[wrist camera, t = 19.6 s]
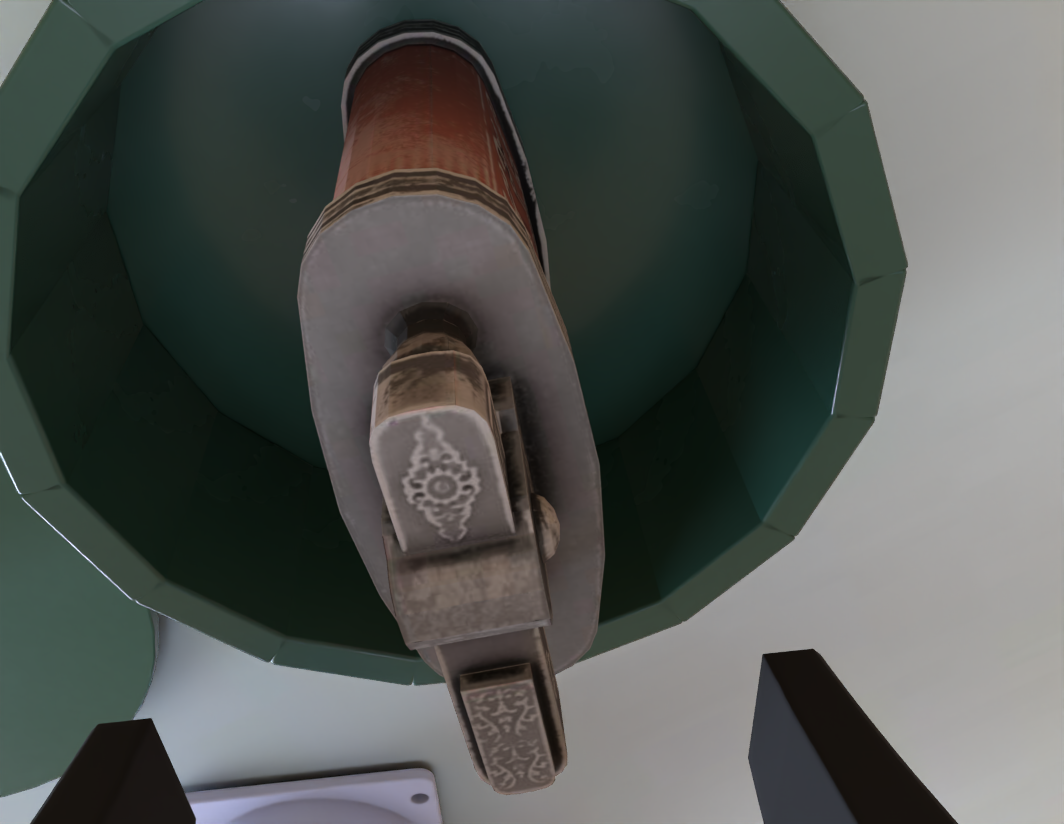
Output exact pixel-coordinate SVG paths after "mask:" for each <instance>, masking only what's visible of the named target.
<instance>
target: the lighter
mask: <svg viewBox="0 0 1064 824" xmlns="http://www.w3.org/2000/svg"><path fill="white" fill-rule="evenodd" d="M341 109H342V121H343V133H344V148H343V153H342V158H341V163H340V168H339V173H338V178H337V183H336V188H335V193H334V198H333V201H332V202H330V203H329V204H328V205H327V206H326V207H325V208H324V210H323V211H322V213H321V215H320V216H319V218H318V220H317V221H316V223H315V225H314V226H313V228H312V230H311V231H310V233H309V235H308V237H307V242H306V246H305V250H304V254H303V259H302V263H301V269H300V277H299V286H298V294H297V299H298V307H299V315H300V322H301V330H302V338H303V346H304V354H305V362H306V370H307V378H308V386H309V394H310V402H311V409H312V414H313V418H314V421H315V425H316V428H317V432H318V436H319V439H320V443H321V447H322V450H323V454H324V457H325V461H326V465H327V468H328V472H329V475H330V479H331V483H332V486H333V490H334V493H335V497H336V501H337V504H338V508H339V511H340V514H341V516H342V518H343V520H344V522H345V524H346V526H347V528H348V531H349V533H350V535H351V537H352V539H353V541H354V543H355V545H356V547H357V549H358V551H359V554H360V556H361V558H362V560H363V562H364V564H365V566H366V568H367V570H368V572H369V574H370V576H371V579H372V581H373V583H374V585H375V587H376V589H377V591H378V593H379V595H380V597H381V598H382V600H383V601H384V603H385V604H386V606H387V607H388V609H389V610H390V612H391V613H392V615H393V616H394V618H395V619H396V620H397V622H398V625H399V628H400V631H401V633H402V636H403V639H404V642H405V644H406V646H407V647H408V648H409V649H410V650H414V649H416V650H417V651H418V653H419V654H420V656H421V657H422V659H423V660H424V662H425V663H426V664H428V665H429V666H430V667H431V668H432V669H433V670H434V671H435V672H437V673H438V674H439V675H440V676H442V677H444V678H445V681H446V684H447V687H448V690H449V693H450V696H451V699H452V702H453V705H454V708H455V711H456V714H457V717H458V720H459V723H460V726H461V729H462V732H463V735H464V738H465V741H466V744H467V747H468V750H469V753H470V756H471V759H472V762H473V765H474V768H475V770H476V772H477V774H478V775H479V777H480V779H481V780H483V781H484V782H486V783H488V784H489V785H491V786H492V787H493V789H494V791H496V792H497V793H499V794H504V795H510V794H520V793H526V792H532V791H536V790H540V789H544V788H547V787H549V786H550V785H552V784H553V783H554V781H555V776H557V775H558V774H560V773H562V771H563V770H564V768H565V767H566V765H567V749H566V741H565V734H564V727H563V720H562V712H561V705H560V698H559V691H558V687H557V682H556V678H555V675H556V674H558V673H560V672H561V671H563V670H565V669H567V668H569V667H571V666H573V665H574V664H575V663H576V662H577V661H578V660H579V659H580V658H581V657H582V656H583V655H584V654H585V653H586V652H587V651H588V650H589V649H590V648H591V645H592V643H593V640H594V638H595V635H596V633H597V628H598V619H599V609H600V599H601V590H602V580H603V570H604V561H605V546H604V529H603V512H602V496H601V479H600V464H599V460H598V456H597V452H596V447H595V443H594V439H593V435H592V430H591V426H590V422H589V418H588V414H587V410H586V406H585V402H584V398H583V394H582V390H581V386H580V382H579V378H578V374H577V370H576V366H575V362H574V358H573V354H572V350H571V346H570V342H569V338H568V333H567V330H566V327H565V325H564V322H563V320H562V318H561V315H560V313H559V310H558V308H557V305H556V303H555V300H554V298H553V295H552V293H551V287H550V275H549V263H548V252H547V241H546V237H545V232H544V228H543V224H542V220H541V216H540V212H539V208H538V204H537V200H536V195H535V191H534V187H533V183H532V179H531V175H530V171H529V167H528V163H527V159H526V155H525V151H524V147H523V143H522V140H521V137H520V135H519V132H518V129H517V127H516V124H515V122H514V119H513V116H512V114H511V111H510V108H509V106H508V103H507V101H506V98H505V95H504V93H503V90H502V87H501V85H500V82H499V80H498V77H497V74H496V72H495V69H494V66H493V64H492V61H491V60H490V58H489V57H488V55H487V53H486V52H485V50H484V49H483V47H482V46H481V44H480V43H479V41H477V40H476V39H475V38H473V37H472V36H470V35H469V34H468V33H466V32H465V31H464V30H462V29H461V28H460V27H458V26H454V25H451V24H448V23H444V22H441V21H438V20H434V19H417V20H404V21H401V22H398V23H395V24H393V25H390V26H387V27H385V28H382V29H380V30H378V31H377V32H376V33H375V34H373V35H372V36H371V37H370V38H369V39H367V40H366V41H365V42H364V43H363V44H361V45H360V46H359V48H358V50H357V52H356V53H355V55H354V57H353V59H352V60H351V62H350V64H349V66H348V68H347V72H346V76H345V81H344V87H343V95H342V102H341Z"/></svg>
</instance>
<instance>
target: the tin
mask: <svg viewBox="0 0 1064 824" xmlns="http://www.w3.org/2000/svg"><path fill="white" fill-rule="evenodd" d="M417 19H434V20H438V21H441V22H444V23H448V24H451V25H454V26H458V27H460V28H461V29H462V30H464V31H465V32H466V33H468V34H469V35H470V36H472V37H473V38H475V39H476V40H477V41H479V43H480V44H481V46H482V47H483V49H484V50H485V52H486V53H487V55H488V57H489V58H490V60H491V61H492V64H493V66H494V69H495V72H496V74H497V77H498V80H499V82H500V85H501V87H502V90H503V93H504V95H505V98H506V101H507V103H508V106H509V108H510V111H511V114H512V116H513V119H514V122H515V124H516V127H517V129H518V132H519V135H520V137H521V140H522V143H523V147H524V151H525V155H526V159H527V163H528V167H529V171H530V175H531V179H532V183H533V187H534V191H535V195H536V200H537V204H538V208H539V212H540V216H541V220H542V224H543V228H544V232H545V237H546V241H547V252H548V263H549V275H550V287H551V293H552V295H553V298H554V300H555V303H556V305H557V308H558V310H559V313H560V315H561V318H562V320H563V322H564V325H565V327H566V330H567V333H568V338H569V342H570V346H571V350H572V354H573V358H574V362H575V366H576V370H577V374H578V378H579V382H580V386H581V390H582V394H583V398H584V402H585V406H586V410H587V414H588V418H589V422H590V426H591V430H592V435H593V439H594V443H595V447H596V452H597V456H598V460H599V464H600V479H601V496H602V512H603V529H604V546H605V561H604V570H603V580H602V590H601V599H600V609H599V619H598V628H597V633H596V635H595V638H594V640H593V643H592V645H591V648H590V649H589V650H588V651H587V652H586V653H585V654H584V655H583V656H582V657H581V658H580V659H579V660H578V661H577V662H576V663H578V662H581V661H584V660H586V659H589V658H591V657H594V656H597V655H599V654H602V653H605V652H607V651H610V650H613V649H615V648H618V647H620V646H623V645H626V644H628V643H631V642H634V641H636V640H639V639H642V638H644V637H647V636H650V635H652V634H655V633H657V632H660V631H663V630H665V629H668V628H671V627H673V626H676V625H679V624H681V623H682V621H683V622H685V621H687V620H688V619H689V618H691V617H692V616H693V615H695V614H696V613H697V612H699V611H700V610H701V609H703V608H704V607H705V606H707V605H708V604H709V603H711V602H712V601H713V600H715V599H716V598H717V597H719V596H720V595H721V594H723V593H724V592H725V591H727V590H728V589H729V588H731V587H732V586H733V585H735V584H736V583H737V582H739V581H740V580H741V579H743V578H744V577H745V576H746V575H748V574H749V573H750V572H752V571H753V570H754V569H756V568H757V567H758V566H760V565H761V564H762V563H764V562H765V561H766V560H768V559H769V558H770V557H772V556H773V555H774V554H776V553H777V552H778V551H780V550H781V549H782V548H784V547H785V546H786V545H788V544H789V543H790V542H792V541H793V540H794V539H795V536H797V535H798V534H799V532H800V531H801V529H802V528H803V526H804V525H805V523H806V522H807V520H808V519H809V517H810V516H811V514H812V513H813V512H814V510H815V509H816V507H817V506H818V504H819V503H820V501H821V500H822V498H823V497H824V495H825V494H826V492H827V491H828V489H829V488H830V486H831V485H832V483H833V482H834V481H835V479H836V478H837V476H838V475H839V473H840V472H841V470H842V469H843V467H844V466H845V464H846V463H847V461H848V460H849V458H850V457H851V455H852V454H853V452H854V451H855V450H856V448H857V447H858V445H859V444H860V442H861V441H862V439H863V438H864V436H865V435H866V433H867V432H868V430H869V429H870V427H871V426H872V424H873V423H874V421H875V416H876V415H877V413H878V408H879V404H880V399H881V394H882V389H883V384H884V379H885V374H886V370H887V365H888V360H889V355H890V350H891V345H892V341H893V336H894V331H895V326H896V321H897V316H898V312H899V307H900V302H901V297H902V292H903V287H904V282H905V278H906V268H907V267H908V262H907V258H906V254H905V250H904V246H903V242H902V238H901V234H900V230H899V226H898V222H897V218H896V214H895V210H894V206H893V203H892V199H891V195H890V191H889V187H888V183H887V179H886V175H885V171H884V167H883V163H882V159H881V155H880V151H879V147H878V143H877V139H876V135H875V131H874V127H873V123H872V119H871V115H870V111H869V107H868V103H867V101H866V100H864V97H863V95H862V93H861V92H860V91H859V90H858V89H857V88H856V87H855V85H854V84H853V83H852V82H851V81H850V80H849V79H848V77H847V76H846V75H845V74H844V73H843V72H842V71H841V70H840V68H839V67H838V66H837V65H836V64H835V63H834V62H833V60H832V59H831V58H830V57H829V56H828V55H827V54H826V52H825V51H824V50H823V49H822V48H821V47H820V46H819V44H818V43H817V42H816V41H815V40H814V39H813V38H812V37H811V35H810V34H809V33H808V32H807V31H806V30H805V29H804V27H803V26H802V25H801V24H800V23H799V22H798V21H797V19H796V18H795V17H794V16H793V15H792V14H791V13H790V12H789V10H788V9H787V8H786V7H785V6H784V5H783V4H782V2H781V1H780V0H52V2H51V3H50V5H49V7H48V8H47V10H46V12H45V13H44V15H43V17H42V18H41V20H40V22H39V23H38V25H37V27H36V28H35V30H34V32H33V33H32V35H31V37H30V38H29V40H28V42H27V43H26V45H25V47H24V48H23V50H22V52H21V53H20V55H19V57H18V58H17V60H16V62H15V63H14V65H13V67H12V68H11V70H10V72H9V73H8V75H7V77H6V78H5V80H4V82H3V83H2V85H1V87H0V457H1V459H2V461H3V463H4V465H5V468H6V470H7V472H8V474H9V476H10V478H11V480H12V482H13V484H14V487H15V489H16V491H17V492H18V493H19V494H21V499H22V500H23V501H24V502H25V503H26V504H27V505H28V506H29V507H31V508H32V509H33V510H34V511H35V512H36V513H37V514H38V515H39V516H40V517H41V518H42V519H44V520H45V521H46V522H47V523H48V524H49V525H50V526H51V527H52V528H53V529H54V530H55V531H57V532H58V533H59V534H60V535H61V536H62V537H63V538H64V539H65V540H66V541H67V542H69V543H70V544H71V545H72V546H73V547H74V548H75V549H76V550H77V551H78V552H79V553H80V554H82V555H83V556H84V557H85V558H86V559H87V560H88V561H89V562H90V563H91V564H92V565H94V566H95V567H96V568H97V569H98V570H99V571H100V572H101V573H102V574H103V575H104V576H105V577H107V578H108V579H109V580H110V581H111V582H112V583H113V584H114V585H115V586H116V587H117V588H118V589H120V590H121V591H122V592H123V593H124V594H125V595H126V596H127V597H128V598H129V599H131V600H136V602H137V603H138V604H140V605H142V606H144V607H146V608H148V609H150V610H153V611H155V612H157V613H159V614H161V615H164V616H166V617H168V618H170V619H172V620H174V621H177V622H179V623H181V624H183V625H185V626H188V627H190V628H192V629H194V630H196V631H199V632H201V633H203V634H205V635H207V636H209V637H212V638H214V639H216V640H218V641H220V642H223V643H225V644H227V645H229V646H231V647H234V648H236V649H238V650H240V651H242V652H244V653H247V654H249V655H251V656H253V657H255V658H258V659H260V660H262V661H264V662H270V661H271V663H272V664H274V665H280V666H286V667H293V668H299V669H306V670H312V671H319V672H325V673H331V674H338V675H344V676H351V677H357V678H363V679H370V680H376V681H383V682H389V683H395V684H402V685H411V684H412V683H413V685H416V686H418V685H428V684H437V683H446V681H445V678H444V677H442V676H440V675H439V674H438V673H437V672H435V671H434V670H433V669H432V668H431V667H430V666H429V665H428V664H426V663H425V662H424V660H423V659H422V657H421V656H420V654H419V653H418V651H417V650H416V649H414V650H410V649H409V648H408V647H407V646H406V644H405V642H404V639H403V636H402V633H401V631H400V628H399V625H398V622H397V620H396V619H395V618H394V616H393V615H392V613H391V612H390V610H389V609H388V607H387V606H386V604H385V603H384V601H383V600H382V598H381V597H380V595H379V593H378V591H377V589H376V587H375V585H374V583H373V581H372V579H371V576H370V574H369V572H368V570H367V568H366V566H365V564H364V562H363V560H362V558H361V556H360V554H359V551H358V549H357V547H356V545H355V543H354V541H353V539H352V537H351V535H350V533H349V531H348V528H347V526H346V524H345V522H344V520H343V518H342V516H341V514H340V511H339V508H338V504H337V501H336V497H335V493H334V490H333V486H332V483H331V479H330V475H329V472H328V468H327V465H326V461H325V457H324V454H323V450H322V447H321V443H320V439H319V436H318V432H317V428H316V425H315V421H314V418H313V414H312V409H311V402H310V394H309V386H308V378H307V370H306V362H305V354H304V346H303V338H302V330H301V322H300V315H299V307H298V299H297V294H298V286H299V277H300V269H301V263H302V259H303V254H304V250H305V246H306V242H307V237H308V235H309V233H310V231H311V230H312V228H313V226H314V225H315V223H316V221H317V220H318V218H319V216H320V215H321V213H322V211H323V210H324V208H325V207H326V206H327V205H328V204H329V203H330V202H332V201H333V198H334V193H335V188H336V183H337V178H338V173H339V168H340V163H341V158H342V153H343V148H344V133H343V121H342V109H341V102H342V95H343V87H344V81H345V76H346V72H347V68H348V66H349V64H350V62H351V60H352V59H353V57H354V55H355V53H356V52H357V50H358V48H359V46H360V45H361V44H363V43H364V42H365V41H366V40H367V39H369V38H370V37H371V36H372V35H373V34H375V33H376V32H377V31H378V30H380V29H382V28H385V27H387V26H390V25H393V24H395V23H398V22H401V21H404V20H417ZM576 663H575V664H576Z"/></svg>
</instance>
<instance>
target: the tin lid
mask: <svg viewBox="0 0 1064 824" xmlns="http://www.w3.org/2000/svg"><path fill="white" fill-rule="evenodd" d="M158 651H159V618H158V614H157V612H155V611H153V610H150V609H148V608H146V607H144V606H142V605H140V604H138V603H137V602H136V600H131V599H129V598H128V597H127V596H126V595H125V594H124V593H123V592H122V591H121V590H120V589H118V588H117V587H116V586H115V585H114V584H113V583H112V582H111V581H110V580H109V579H108V578H107V577H105V576H104V575H103V574H102V573H101V572H100V571H99V570H98V569H97V568H96V567H95V566H94V565H92V564H91V563H90V562H89V561H88V560H87V559H86V558H85V557H84V556H83V555H82V554H80V553H79V552H78V551H77V550H76V549H75V548H74V547H73V546H72V545H71V544H70V543H69V542H67V541H66V540H65V539H64V538H63V537H62V536H61V535H60V534H59V533H58V532H57V531H55V530H54V529H53V528H52V527H51V526H50V525H49V524H48V523H47V522H46V521H45V520H44V519H42V518H41V517H40V516H39V515H38V514H37V513H36V512H35V511H34V510H33V509H32V508H31V507H29V506H28V505H27V504H26V503H25V502H24V501H23V500H22V499H21V494H19V493H18V492H17V491H16V489H15V487H14V484H13V482H12V480H11V478H10V476H9V474H8V472H7V470H6V468H5V465H4V463H3V461H2V459H1V457H0V797H5V796H8V795H11V794H15V793H18V792H22V791H25V790H28V789H32V788H35V787H37V786H40V785H42V784H45V783H47V782H49V781H52V780H54V779H57V778H59V777H61V776H62V775H63V774H64V772H65V771H66V769H67V767H68V766H69V764H70V763H71V761H72V760H73V758H74V757H75V755H76V754H77V752H78V751H79V749H80V748H81V746H82V745H83V743H84V742H85V740H86V738H87V737H88V735H89V734H90V732H91V731H92V730H93V729H94V728H95V727H96V726H97V725H98V724H102V723H111V722H121V721H130V720H133V718H134V717H135V715H136V714H137V712H138V710H139V709H140V707H141V706H142V704H143V702H144V699H145V697H146V694H147V692H148V689H149V687H150V685H151V682H152V679H153V675H154V672H155V667H156V662H157V656H158Z"/></svg>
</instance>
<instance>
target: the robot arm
mask: <svg viewBox="0 0 1064 824" xmlns="http://www.w3.org/2000/svg"><path fill="white" fill-rule="evenodd" d="M748 759H749V764H750V768H751V772H752V776H753V781H754V785H755V789H756V793H757V797H758V802H759V806H760V810H761V814H762V818H763V821H764V824H958V823H957V822H956V821H955V820H954V818H953V817H952V816H951V815H950V814H949V813H948V812H947V810H946V809H945V808H944V807H943V806H942V805H941V804H940V802H939V801H938V800H937V799H936V798H935V797H934V795H933V794H932V793H931V792H930V791H929V790H928V789H927V787H926V786H925V785H924V784H923V783H922V782H921V781H920V779H919V778H918V777H917V776H916V775H915V774H914V773H913V771H912V770H911V769H910V768H909V767H908V765H907V764H906V763H905V762H904V761H903V759H902V758H901V757H900V756H899V755H898V753H897V752H896V751H895V750H894V749H893V747H892V746H891V745H890V744H889V742H888V741H887V740H886V739H885V737H884V736H883V735H882V734H881V733H880V731H879V730H878V729H877V728H876V726H875V725H874V724H873V723H872V721H871V720H870V719H869V718H868V716H867V715H866V714H865V713H864V711H863V710H862V709H861V707H860V706H859V705H858V704H857V702H856V701H855V700H854V698H853V697H852V696H851V695H850V693H849V692H848V691H847V689H846V688H845V687H844V685H843V684H842V683H841V681H840V680H839V679H838V677H837V676H836V675H835V674H834V672H833V671H832V669H831V668H830V667H829V665H828V664H827V663H826V661H825V660H824V659H823V657H822V656H821V655H820V654H819V653H818V652H816V651H815V650H814V649H807V650H797V651H788V652H778V653H769V654H763V656H762V663H761V670H760V677H759V684H758V692H757V699H756V706H755V713H754V720H753V727H752V734H751V741H750V748H749V755H748ZM30 824H443V821H442V815H441V809H440V804H439V798H438V793H437V787H436V781H435V776H434V774H433V773H432V772H430V771H429V770H427V769H424V768H412V769H403V770H394V771H384V772H375V773H365V774H356V775H347V776H337V777H328V778H319V779H309V780H300V781H290V782H281V783H272V784H262V785H253V786H243V787H234V788H225V789H215V790H206V791H197V792H187V793H184V790H183V788H182V786H181V784H180V781H179V779H178V777H177V775H176V772H175V770H174V768H173V766H172V763H171V761H170V759H169V757H168V754H167V752H166V750H165V748H164V745H163V743H162V741H161V739H160V737H159V734H158V732H157V730H156V728H155V725H154V723H153V721H152V719H151V718H149V719H140V720H130V721H121V722H111V723H102V724H98V725H97V726H96V727H95V728H94V729H93V730H92V731H91V732H90V734H89V735H88V737H87V738H86V740H85V742H84V743H83V745H82V746H81V748H80V749H79V751H78V752H77V754H76V755H75V757H74V758H73V760H72V761H71V763H70V764H69V766H68V767H67V769H66V771H65V772H64V774H63V775H62V777H61V778H60V780H59V781H58V783H57V784H56V786H55V787H54V789H53V790H52V792H51V793H50V795H49V796H48V798H47V799H46V801H45V802H44V804H43V805H42V807H41V808H40V810H39V811H38V813H37V814H36V816H35V817H34V819H33V820H32V822H31V823H30Z"/></svg>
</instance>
